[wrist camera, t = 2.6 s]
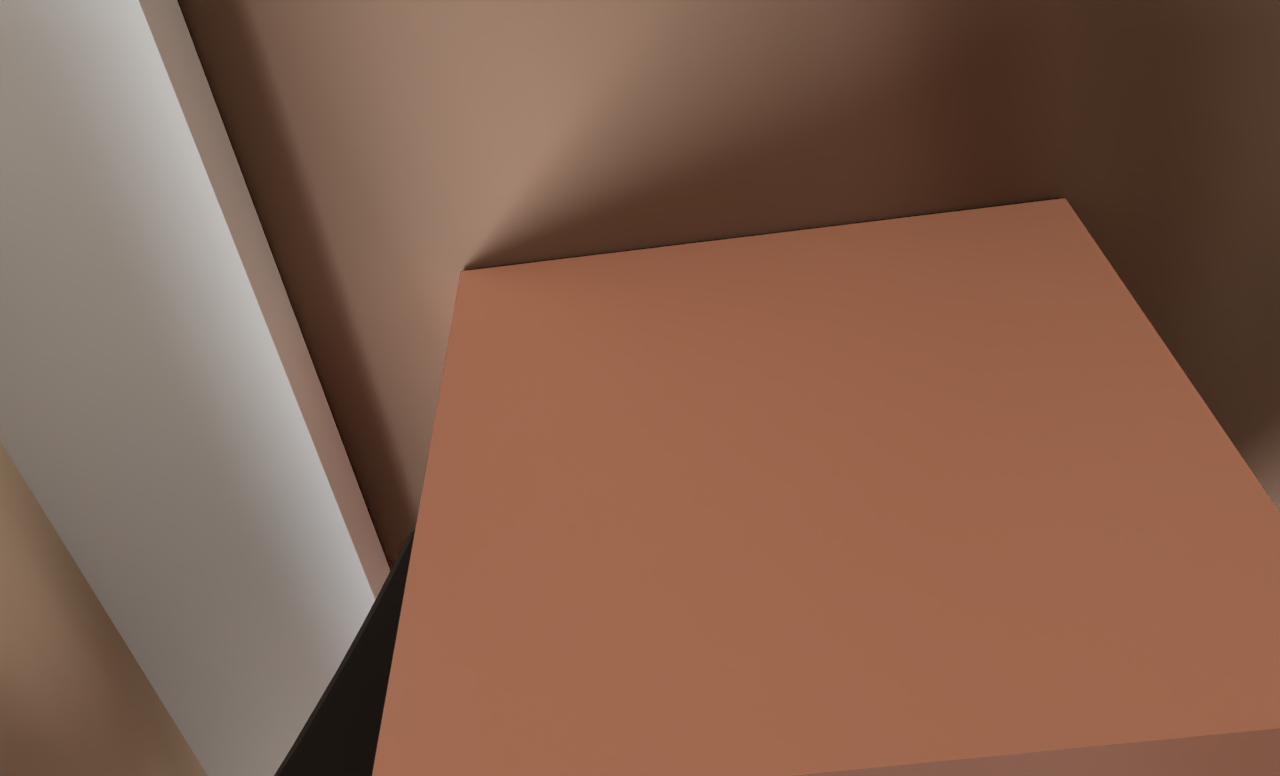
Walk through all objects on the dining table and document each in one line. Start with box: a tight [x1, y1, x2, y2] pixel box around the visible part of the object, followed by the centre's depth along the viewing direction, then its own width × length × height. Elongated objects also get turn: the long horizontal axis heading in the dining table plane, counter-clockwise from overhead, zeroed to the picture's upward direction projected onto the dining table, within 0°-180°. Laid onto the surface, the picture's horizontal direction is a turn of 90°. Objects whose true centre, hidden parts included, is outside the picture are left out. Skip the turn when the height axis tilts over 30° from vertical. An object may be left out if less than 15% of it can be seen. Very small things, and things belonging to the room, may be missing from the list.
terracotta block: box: [372, 198, 1280, 776], centre depth 9 cm, size 5×5×5 cm
